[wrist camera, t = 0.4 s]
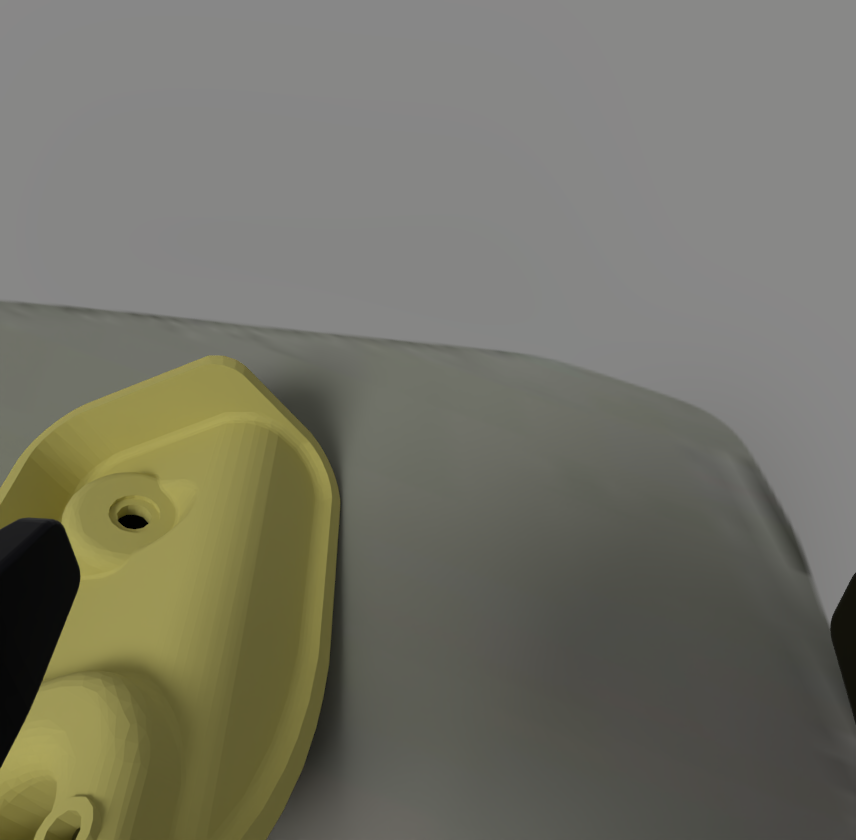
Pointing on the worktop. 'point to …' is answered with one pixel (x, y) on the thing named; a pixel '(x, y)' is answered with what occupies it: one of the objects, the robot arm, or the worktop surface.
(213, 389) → the plastic component
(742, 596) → the worktop surface
